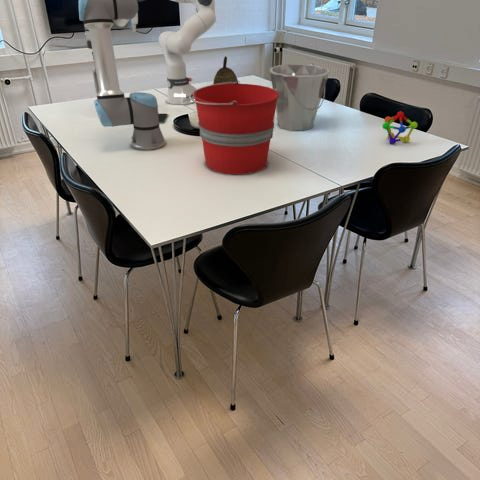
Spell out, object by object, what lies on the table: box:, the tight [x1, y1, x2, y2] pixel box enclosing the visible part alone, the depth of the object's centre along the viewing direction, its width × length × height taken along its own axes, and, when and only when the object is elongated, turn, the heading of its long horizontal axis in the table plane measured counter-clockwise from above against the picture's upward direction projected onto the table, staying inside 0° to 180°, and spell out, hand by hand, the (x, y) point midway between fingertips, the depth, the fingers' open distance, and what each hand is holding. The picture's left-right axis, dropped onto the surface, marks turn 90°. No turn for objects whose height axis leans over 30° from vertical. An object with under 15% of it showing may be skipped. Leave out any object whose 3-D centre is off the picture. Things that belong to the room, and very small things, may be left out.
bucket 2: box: [269, 63, 330, 131], centre depth 226 cm, size 30×30×28 cm
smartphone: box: [158, 113, 169, 124], centre depth 241 cm, size 7×1×15 cm
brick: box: [92, 69, 99, 95], centre depth 239 cm, size 5×6×11 cm
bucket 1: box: [190, 81, 279, 175], centre depth 181 cm, size 35×35×30 cm
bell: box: [212, 56, 239, 85], centre depth 278 cm, size 19×26×20 cm
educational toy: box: [382, 110, 418, 145], centre depth 207 cm, size 16×13×15 cm
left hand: (101, 86), depth 240 cm, fingers closed on brick, 5 cm apart
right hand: (132, 30), depth 278 cm, fingers open, 8 cm apart
